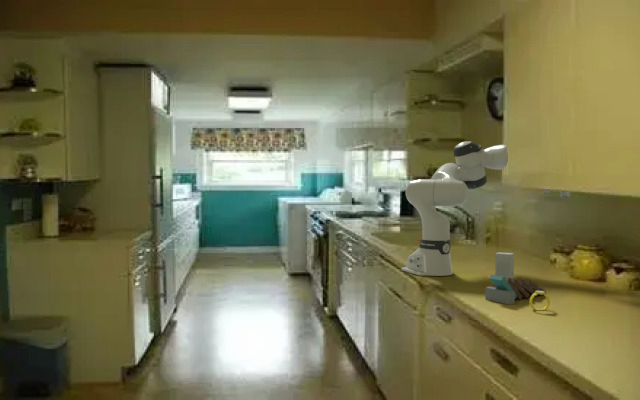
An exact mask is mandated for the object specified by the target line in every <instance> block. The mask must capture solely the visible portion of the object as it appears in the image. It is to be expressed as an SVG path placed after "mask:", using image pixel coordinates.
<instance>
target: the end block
mask: <svg viewBox="0 0 640 400" xmlns="http://www.w3.org/2000/svg"><path fill="white" fill-rule="evenodd" d="M484 290H485V295H484V296H485V297H484V300H488V301H491V300H492V301H491V302H497V303H500V302H501V303H500V304H504V303H505V305H515V300H516V299H515V292H514V291H510V290H505V289H500V288H496V287H495V286H494V287H493V286H485V289H484Z"/></svg>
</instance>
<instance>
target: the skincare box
mask: <svg viewBox="0 0 640 400" xmlns="http://www.w3.org/2000/svg"><path fill="white" fill-rule="evenodd" d="M494 255H495V263H494V264H495V267H494V269H495V274H494V275H498V276H504V277H509V278H513V279H515V278H514V277H515V276H514V275H515V268H514V267H515V253H513V252H496V253H495V254H494Z"/></svg>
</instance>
